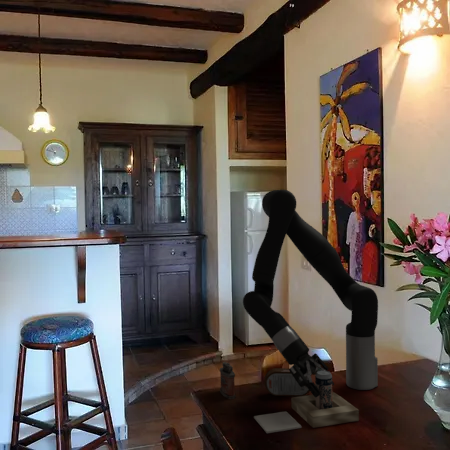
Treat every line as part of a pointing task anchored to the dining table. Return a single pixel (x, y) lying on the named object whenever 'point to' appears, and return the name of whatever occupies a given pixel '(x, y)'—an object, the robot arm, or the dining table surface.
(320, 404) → the beer can
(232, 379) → the lighter
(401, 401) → the dining table surface
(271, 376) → the tin
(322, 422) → the socket block
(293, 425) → the pad
